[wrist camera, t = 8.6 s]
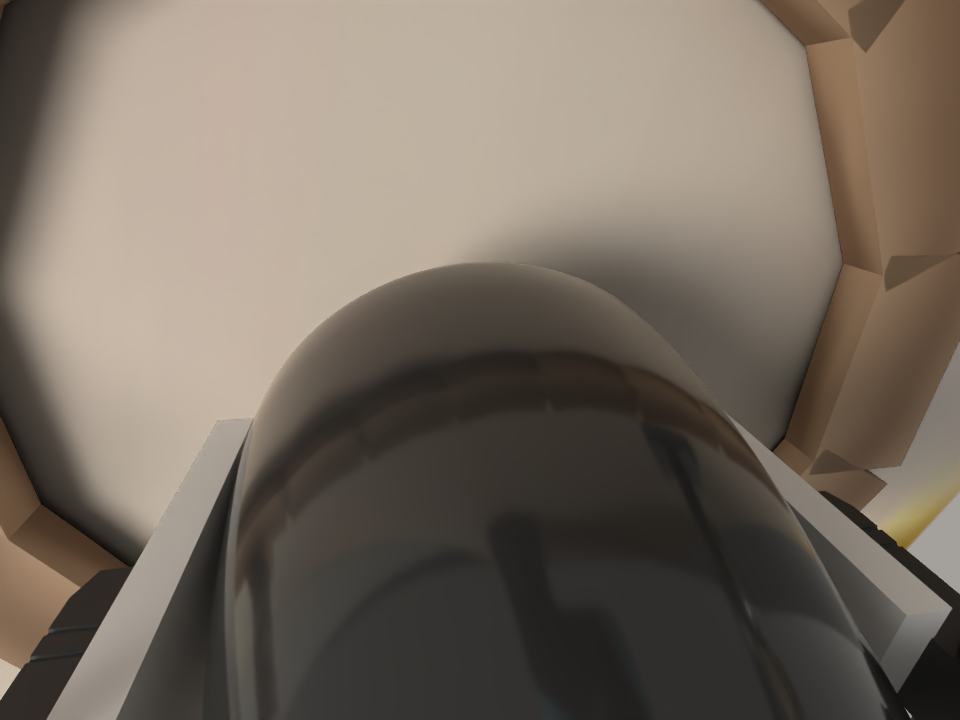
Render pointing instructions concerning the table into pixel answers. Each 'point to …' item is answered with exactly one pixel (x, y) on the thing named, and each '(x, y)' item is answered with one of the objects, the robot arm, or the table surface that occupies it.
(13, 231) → the table surface
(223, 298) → the table surface
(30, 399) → the table surface
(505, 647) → the pump dispenser
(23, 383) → the table surface
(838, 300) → the turntable ring
